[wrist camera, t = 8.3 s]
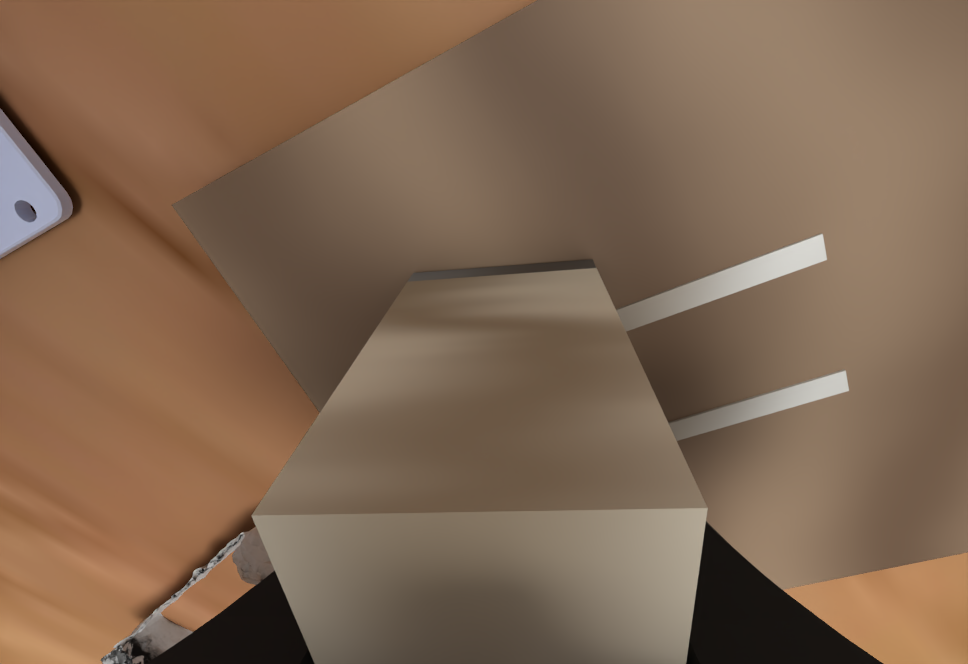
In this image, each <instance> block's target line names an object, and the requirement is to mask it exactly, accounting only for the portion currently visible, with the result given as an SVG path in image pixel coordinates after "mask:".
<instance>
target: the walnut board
mask: <svg viewBox="0 0 968 664" xmlns="http://www.w3.org/2000/svg"><path fill="white" fill-rule="evenodd" d="M172 206H173V208H174V209H175V210H176V212H177V213H178V215H179V216H180V217H181V219H182V220H183V222H184V223H185V224H186V226H187V227H188V229H189V230H190V231H191V233H192V234H193V236H194V237H195V238H196V240H197V241H198V243H199V244H200V245H201V247H202V248H203V250H204V251H205V252H206V254H207V255H208V257H209V258H210V259H211V261H212V262H213V264H214V265H215V266H216V268H217V269H218V271H219V272H220V274H221V275H222V276H223V278H224V279H225V281H226V282H227V283H228V285H229V286H230V288H231V289H232V290H233V292H234V293H235V295H236V296H237V297H238V299H239V300H240V302H241V303H242V304H243V306H244V307H245V309H246V310H247V311H248V313H249V314H250V316H251V317H252V318H253V320H254V321H255V323H256V324H257V325H258V327H259V328H260V330H261V331H262V332H263V334H264V335H265V337H266V338H267V339H268V341H269V342H270V344H271V345H272V346H273V348H274V349H275V351H276V352H277V353H278V355H279V356H280V358H281V359H282V360H283V362H284V363H285V365H286V366H287V367H288V369H289V370H290V372H291V373H292V374H293V376H294V377H295V379H296V380H297V381H298V383H299V384H300V386H301V387H302V388H303V390H304V391H305V393H306V394H307V395H308V397H309V398H310V400H311V401H312V402H313V404H314V405H315V407H316V408H317V410H318V411H319V412H321V410H322V409H323V407H324V406H325V404H326V403H327V401H328V400H329V398H330V397H331V395H332V394H333V392H334V391H335V389H336V388H337V386H338V385H339V383H340V382H341V380H342V379H343V377H344V376H345V374H346V373H347V371H348V370H349V368H350V367H351V365H352V364H353V362H354V361H355V359H356V358H357V356H358V355H359V353H360V352H361V350H362V349H363V347H364V346H365V344H366V343H367V341H368V340H369V338H370V337H371V335H372V334H373V332H374V331H375V329H376V328H377V326H378V325H379V323H380V322H381V320H382V319H383V317H384V316H385V314H386V313H387V311H388V310H389V308H390V307H391V305H392V304H393V302H394V301H395V299H396V298H397V296H398V295H399V293H400V292H401V290H402V289H403V287H404V286H405V284H406V283H407V281H408V280H409V278H410V277H411V275H412V274H413V273H419V272H432V271H445V270H459V269H472V268H485V267H499V266H512V265H525V264H538V263H552V262H565V261H578V260H591V259H593V261H594V264H595V266H596V268H597V270H598V272H599V274H600V277H601V279H602V281H603V283H604V285H605V287H606V290H607V292H608V294H609V296H610V298H611V300H612V302H613V305H614V307H615V309H616V311H617V313H618V315H619V318H620V320H621V322H622V324H623V326H624V328H625V331H626V333H627V335H628V337H629V339H630V341H631V343H632V346H633V348H634V350H635V352H636V354H637V356H638V359H639V361H640V363H641V365H642V367H643V369H644V372H645V374H646V376H647V378H648V380H649V382H650V385H651V387H652V389H653V391H654V393H655V395H656V397H657V400H658V402H659V404H660V406H661V408H662V410H663V413H664V415H665V417H666V419H667V421H668V423H669V426H670V428H671V430H672V432H673V434H674V436H675V439H676V441H677V443H678V445H679V447H680V449H681V451H682V454H683V456H684V458H685V460H686V462H687V464H688V467H689V469H690V471H691V473H692V475H693V477H694V480H695V482H696V484H697V486H698V488H699V490H700V493H701V495H702V497H703V499H704V501H705V503H706V505H707V508H708V510H707V517H706V521H707V522H708V523H709V524H710V525H711V526H712V527H713V528H714V529H715V530H716V531H717V532H718V533H719V534H720V535H721V536H722V537H723V538H724V539H725V540H726V541H727V542H728V543H729V544H730V545H731V546H732V547H733V548H734V549H736V550H737V551H738V552H739V553H740V554H741V555H742V556H743V557H744V558H746V559H747V560H748V561H749V562H750V563H751V564H752V565H753V566H755V567H756V568H757V569H758V570H759V571H760V572H761V573H763V574H764V575H765V576H766V577H767V578H769V579H770V580H771V581H772V582H773V583H775V584H776V585H777V586H778V587H780V588H781V589H782V590H784V589H789V588H794V587H799V586H804V585H809V584H814V583H819V582H824V581H828V580H833V579H838V578H843V577H848V576H853V575H858V574H863V573H868V572H873V571H878V570H883V569H888V568H893V567H898V566H903V565H908V564H912V563H917V562H922V561H927V560H932V559H937V558H942V557H947V556H952V555H957V554H962V553H967V552H968V0H537V1H535V2H534V3H532V4H530V5H528V6H526V7H525V8H523V9H521V10H519V11H517V12H516V13H514V14H512V15H510V16H509V17H507V18H505V19H503V20H501V21H500V22H498V23H496V24H494V25H492V26H491V27H489V28H487V29H485V30H484V31H482V32H480V33H478V34H476V35H475V36H473V37H471V38H469V39H467V40H466V41H464V42H462V43H460V44H459V45H457V46H455V47H453V48H451V49H450V50H448V51H446V52H444V53H442V54H441V55H439V56H437V57H435V58H433V59H432V60H430V61H428V62H426V63H425V64H423V65H421V66H419V67H417V68H416V69H414V70H412V71H410V72H408V73H407V74H405V75H403V76H401V77H400V78H398V79H396V80H394V81H392V82H391V83H389V84H387V85H385V86H383V87H382V88H380V89H378V90H376V91H375V92H373V93H371V94H369V95H367V96H366V97H364V98H362V99H360V100H358V101H357V102H355V103H353V104H351V105H350V106H348V107H346V108H344V109H342V110H341V111H339V112H337V113H335V114H333V115H332V116H330V117H328V118H326V119H325V120H323V121H321V122H319V123H317V124H316V125H314V126H312V127H310V128H308V129H307V130H305V131H303V132H301V133H300V134H298V135H296V136H294V137H292V138H291V139H289V140H287V141H285V142H283V143H282V144H280V145H278V146H276V147H275V148H273V149H271V150H269V151H267V152H266V153H264V154H262V155H260V156H258V157H257V158H255V159H253V160H251V161H250V162H248V163H246V164H244V165H242V166H241V167H239V168H237V169H235V170H233V171H232V172H230V173H228V174H226V175H224V176H223V177H221V178H219V179H217V180H216V181H214V182H212V183H210V184H208V185H207V186H205V187H203V188H201V189H199V190H198V191H196V192H194V193H192V194H191V195H189V196H187V197H185V198H183V199H182V200H180V201H178V202H176V203H174V204H173V205H172Z"/></svg>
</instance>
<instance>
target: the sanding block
mask: <svg viewBox="0 0 968 664" xmlns="http://www.w3.org/2000/svg"><path fill="white" fill-rule="evenodd" d="M707 510H708V508H707V505H706V503H705V501H704V499H703V497H702V495H701V493H700V490H699V488H698V486H697V484H696V482H695V480H694V477H693V475H692V473H691V471H690V469H689V467H688V464H687V462H686V460H685V458H684V456H683V454H682V451H681V449H680V447H679V445H678V443H677V441H676V439H675V436H674V434H673V432H672V430H671V428H670V426H669V423H668V421H667V419H666V417H665V415H664V413H663V410H662V408H661V406H660V404H659V402H658V400H657V397H656V395H655V393H654V391H653V389H652V387H651V385H650V382H649V380H648V378H647V376H646V374H645V372H644V369H643V367H642V365H641V363H640V361H639V359H638V356H637V354H636V352H635V350H634V348H633V346H632V343H631V341H630V339H629V337H628V335H627V333H626V331H625V328H624V326H623V324H622V322H621V320H620V318H619V315H618V313H617V311H616V309H615V307H614V305H613V302H612V300H611V298H610V296H609V294H608V292H607V290H606V287H605V285H604V283H603V281H602V279H601V277H600V274H599V272H598V270H597V268H596V266H595V264H594V261H593V259H591V260H578V261H565V262H552V263H538V264H525V265H512V266H499V267H485V268H472V269H459V270H445V271H432V272H419V273H413V274H412V275H411V277H410V278H409V280H408V281H407V283H406V284H405V286H404V287H403V289H402V290H401V292H400V293H399V295H398V296H397V298H396V299H395V301H394V302H393V304H392V305H391V307H390V308H389V310H388V311H387V313H386V314H385V316H384V317H383V319H382V320H381V322H380V323H379V325H378V326H377V328H376V329H375V331H374V332H373V334H372V335H371V337H370V338H369V340H368V341H367V343H366V344H365V346H364V347H363V349H362V350H361V352H360V353H359V355H358V356H357V358H356V359H355V361H354V362H353V364H352V365H351V367H350V368H349V370H348V371H347V373H346V374H345V376H344V377H343V379H342V380H341V382H340V383H339V385H338V386H337V388H336V389H335V391H334V392H333V394H332V395H331V397H330V398H329V400H328V401H327V403H326V404H325V406H324V407H323V409H322V410H321V412H320V413H319V415H318V416H317V418H316V419H315V421H314V422H313V424H312V425H311V427H310V428H309V430H308V431H307V433H306V434H305V436H304V437H303V439H302V440H301V442H300V443H299V445H298V446H297V448H296V449H295V451H294V452H293V454H292V455H291V457H290V458H289V460H288V461H287V463H286V464H285V466H284V467H283V469H282V470H281V472H280V473H279V475H278V476H277V478H276V479H275V481H274V482H273V484H272V485H271V487H270V488H269V490H268V491H267V493H266V494H265V496H264V497H263V499H262V500H261V502H260V503H259V505H258V506H257V508H256V510H255V511H254V513H253V514H252V518H253V521H254V523H255V525H256V528H257V530H258V532H259V535H260V537H261V539H262V542H263V544H264V546H265V549H266V551H267V553H268V556H269V558H270V560H271V563H272V565H273V567H274V570H275V572H276V574H277V577H278V579H279V581H280V584H281V586H282V588H283V591H284V593H285V595H286V598H287V600H288V602H289V605H290V607H291V609H292V612H293V614H294V616H295V619H296V621H297V623H298V626H299V628H300V630H301V633H302V635H303V637H304V640H305V642H306V644H307V647H308V649H309V652H310V654H311V656H312V659H313V661H314V663H315V664H686V661H687V654H688V647H689V639H690V632H691V625H692V618H693V611H694V603H695V596H696V589H697V582H698V575H699V567H700V560H701V553H702V546H703V539H704V531H705V524H706V517H707Z"/></svg>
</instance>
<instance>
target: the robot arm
mask: <svg viewBox="0 0 968 664" xmlns="http://www.w3.org/2000/svg"><path fill="white" fill-rule="evenodd" d="M30 205H32V206H33V208H34V209H35V211H36V214H35V213H34V212H33V211H32V209H31V207H30ZM72 210H73V205H72V201H71V198H70V197H69V195H68V193H67V192H66V190H65V189H64V188H63V187H62V185H61V184H60V183H59V182H58V180H57V179H56V178H55V177H54V175H53V174H52V173H51V172H50V170H49V169H48V168H47V167H46V165H45V164H44V163H43V161H42V160H41V159H40V158H39V156H38V155H37V154H36V153H35V151H34V150H33V149H32V148H31V146H30V145H29V144H28V143H27V141H26V140H25V139H24V138H23V136H22V135H21V134H20V132H19V131H18V130H17V129H16V127H15V126H14V125H13V124H12V122H11V121H10V120H9V119H8V117H7V116H6V115H5V114H4V112H3V111H2V110H1V109H0V259H1V258H2V257H4V256H6V255H7V254H9V253H11V252H13V251H14V250H16V249H18V248H19V247H21V246H23V245H24V244H26V243H28V242H29V241H31V240H33V239H34V238H36V237H38V236H39V235H41V234H43V233H45V232H46V231H48V230H50V229H51V228H53V227H55V226H56V225H58V224H60V223H61V222H63V221H65V220H66V219H68V218H69V217H70V216H71V215H72ZM146 664H315V663H314V661H313V659H312V656H311V654H310V652H309V649H308V647H307V644H306V642H305V640H304V637H303V635H302V633H301V630H300V628H299V626H298V623H297V621H296V619H295V616H294V614H293V612H292V609H291V607H290V605H289V602H288V600H287V598H286V595H285V593H284V591H283V588H282V586H281V584H280V581H279V579H278V577H277V574H276V572H275V570H274V571H273V572H272V573H271V574H270V575H268V576H267V577H266V578H265V579H263V580H262V581H261V582H259V583H258V584H257V585H256V586H254V587H253V588H252V589H250V590H249V591H248V592H247V593H245V594H244V595H243V596H242V597H240V598H239V599H238V600H236V601H235V602H234V603H233V604H231V605H230V606H229V607H227V608H226V609H225V610H224V611H222V612H221V613H219V614H218V615H217V616H215V617H214V618H213V619H211V620H210V621H208V622H207V623H205V624H204V625H203V626H201V627H200V628H198V629H197V630H196V631H194V632H193V633H191V634H190V635H188V636H187V637H185V638H184V639H182V640H181V641H179V642H178V643H177V644H175V645H174V646H172V647H171V648H169V649H168V650H166V651H165V652H163V653H162V654H160V655H159V656H157V657H155V658H154V659H152V660H151V661H149V662H148V663H146ZM686 664H883V663H881V662H880V661H878V660H877V659H876V658H874V657H873V656H871V655H870V654H868V653H867V652H865V651H864V650H862V649H861V648H860V647H858V646H857V645H855V644H854V643H852V642H851V641H849V640H848V639H847V638H845V637H844V636H842V635H841V634H840V633H838V632H837V631H836V630H834V629H833V628H832V627H830V626H829V625H828V624H826V623H825V622H824V621H822V620H821V619H820V618H818V617H817V616H816V615H814V614H813V613H812V612H811V611H809V610H808V609H807V608H805V607H804V606H803V605H801V604H800V603H799V602H797V601H796V600H795V599H793V598H792V597H791V596H789V595H788V594H787V593H786V592H784V591H783V590H782V589H781V588H780V587H778V586H777V585H776V584H775V583H773V582H772V581H771V580H770V579H769V578H767V577H766V576H765V575H764V574H763V573H761V572H760V571H759V570H758V569H757V568H756V567H755V566H753V565H752V564H751V563H750V562H749V561H748V560H747V559H746V558H744V557H743V556H742V555H741V554H740V553H739V552H738V551H737V550H736V549H734V548H733V547H732V546H731V545H730V544H729V543H728V542H727V541H726V540H725V539H724V538H723V537H722V536H721V535H720V534H719V533H718V532H717V531H716V530H715V529H714V528H713V527H712V526H711V525H710V524H709V523H708V522H707V521H706V524H705V531H704V539H703V546H702V553H701V560H700V567H699V575H698V582H697V589H696V596H695V603H694V611H693V618H692V625H691V632H690V639H689V647H688V654H687V661H686Z"/></svg>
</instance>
